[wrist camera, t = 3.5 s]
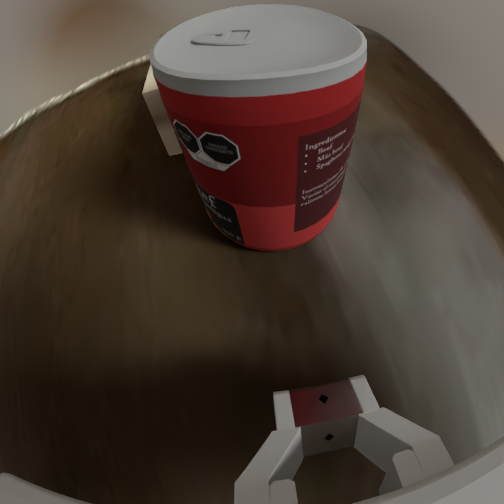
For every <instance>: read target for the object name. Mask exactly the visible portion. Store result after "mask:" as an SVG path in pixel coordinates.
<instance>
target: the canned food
mask: <svg viewBox="0 0 504 504" xmlns="http://www.w3.org/2000/svg"><path fill="white" fill-rule="evenodd" d="M366 49H367V40H366V38H365V36H364V35H363V33H362V32H361V31H360V30H359V29H358V28H357V27H355V26H354V25H352V24H351V23H349V22H347V21H345V20H344V19H342V18H339V17H337V16H335V15H332V14H330V13H327V12H323V11H320V10H316V9H312V8H307V7H301V6H293V5H280V4H263V5H262V4H259V5H246V6H239V7H232V8H227V9H222V10H218V11H214V12H211V13H207V14H204V15H202V16H198V17H196V18H193V19H191V20H189V21H186V22H184V23H182V24H180V25H179V26H177V27H175V28H174V29H172V30H171V31H169V32H167V33H166V34H165V35H164V36H162V37H161V38H160V39H159V40H158V41H157V42H156V43H155V45H154V46H153V47H152V50H151V52H150V62H151V65H152V70H153V76H154V78H155V81H156V84H157V86H158V89H159V92H160V96H161V99H162V101H163V104H164V107H165V109H166V112H167V114H168V117H169V120H170V122H171V125H172V127H173V130H174V132H175V135H176V137H177V140H178V142H179V145H180V147H181V150H182V152H183V155H184V157H185V160H186V162H187V165H188V167H189V170H190V172H191V175H192V177H193V179H194V182H195V184H196V187H197V189H198V192H199V194H200V197H201V199H202V201H203V204H204V206H205V209H206V211H207V213H208V216H209V217H210V219H211V220H212V222H213V224H214V225H215V226H216V227H217V228H218V229H219V230H220V231H221V232H222V233H223V234H224V235H226V236H227V237H228V238H230V239H231V240H233V241H234V242H236V243H237V244H240V245H242V246H245V247H247V248H250V249H255V250H259V251H274V252H275V251H283V250H289V249H292V248H295V247H299V246H301V245H303V244H305V243H307V242H309V241H310V240H312V239H313V238H314V237H316V236H317V235H318V234H319V233H320V232H321V231H322V230H323V229H325V227H326V226H327V225H328V223H329V222H330V221H331V220H332V218H333V216H334V213H335V211H336V209H337V205H338V201H339V197H340V193H341V189H342V185H343V181H344V177H345V172H346V168H347V164H348V160H349V155H350V151H351V146H352V141H353V137H354V132H355V127H356V122H357V117H358V112H359V107H360V102H361V97H362V91H363V85H364V75H365V69H366V63H367V52H366Z"/></svg>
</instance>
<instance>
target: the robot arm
mask: <svg viewBox="0 0 504 504" xmlns="http://www.w3.org/2000/svg"><path fill="white" fill-rule="evenodd" d="M273 401H274V410H275V419H276V428H277V431H272V432H271V434H270V435H269V437H268V438H267V439H266V441H265V442H264V444H263V445H262V447H261V448H260V449H259V451H258V452H257V454H256V455H255V457H254V458H253V459H252V461H251V462H250V463H249V465H248V466H247V467H246V469H245V470H244V471H243V473H242V474H241V475H240V477H239V478H238V479H237V481H236V482H235V491H234V504H298V501H297V494H296V488H295V482H294V481H292V479H293V478H294V476H295V474H296V472H297V470H298V468H299V466H300V464H301V462H302V460H303V457H305V456H310V455H315V454H319V453H324V452H328V451H333V450H338V449H343V448H347V447H352V446H354V448H355V449H357V450H358V451H359V452H360V453H362V454H363V455H364V456H365V457H367V458H368V459H369V460H371V461H372V462H373V463H374V464H376V465H377V466H378V467H379V468H381V469H382V470H383V471H385V472H386V475H385V477H384V479H383V482H382V484H381V486H380V488H379V493H380V496H376V497H373V498H370V499H366V500H363V501H359V502H355V503H352V504H504V437H502V438H501V439H499V440H498V441H496V442H494V443H493V444H491V445H490V446H488V447H486V448H485V449H483V450H481V451H480V452H478V453H476V454H474V455H473V456H471V457H469V458H467V459H465V460H463V461H461V462H459V463H458V464H456V465H454V463H453V461H452V460H451V458H450V456H449V454H448V452H447V450H446V448H445V446H444V444H443V443H442V441H441V439H440V437H439V436H438V435H436V434H434V433H432V432H430V431H428V430H426V429H424V428H422V427H420V426H418V425H416V424H414V423H412V422H411V421H409V420H407V419H405V418H403V417H401V416H399V415H397V414H395V413H394V412H392V411H390V410H388V409H386V408H384V407H383V408H379V406H378V403H377V401H376V399H375V397H374V395H373V393H372V391H371V389H370V386H369V384H368V382H367V380H366V378H365V376H364V375H359V376H355V377H351V378H348V379H342V380H338V381H334V382H329V383H325V384H320V385H316V386H310V387H304V388H298V389H291V390H286V391H278V392H273ZM0 504H92V503H89V502H85V501H81V500H78V499H75V498H71V497H68V496H65V495H62V494H59V493H56V492H53V491H51V490H48V489H45V488H42V487H40V486H37V485H35V484H32V483H30V482H28V481H25V480H23V479H21V478H19V477H17V476H14V475H12V474H9V473H1V474H0Z"/></svg>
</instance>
